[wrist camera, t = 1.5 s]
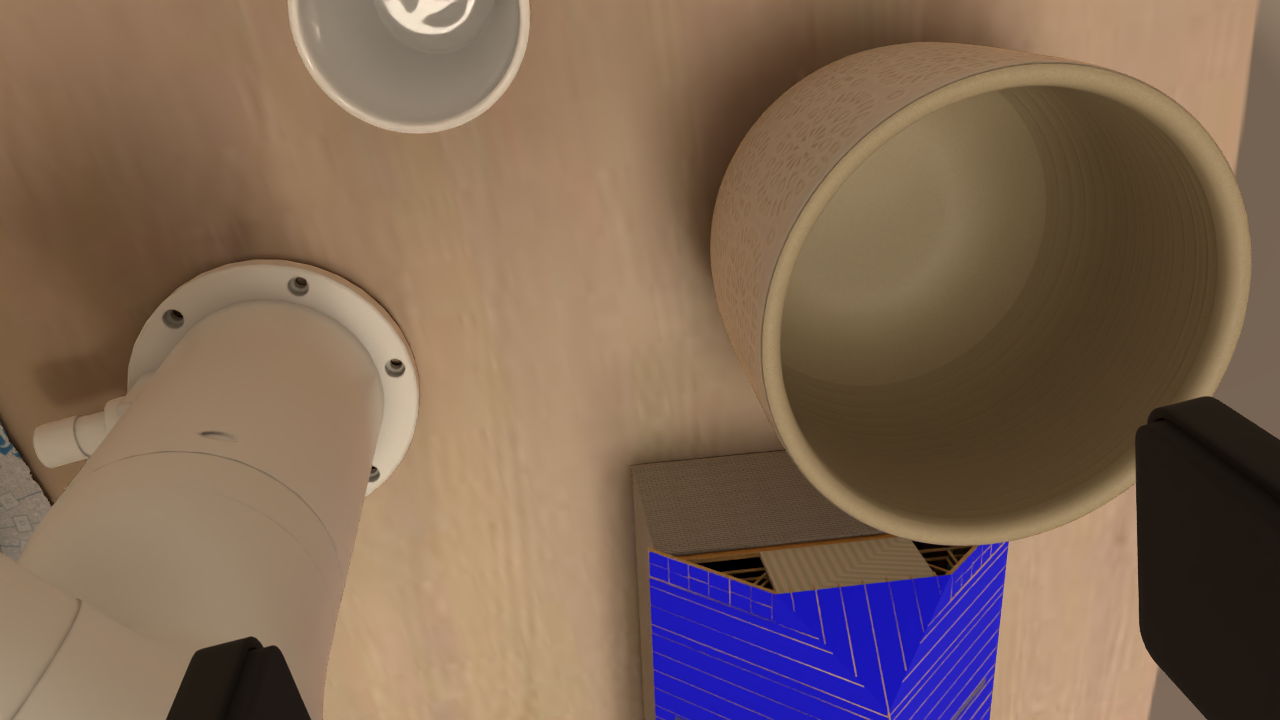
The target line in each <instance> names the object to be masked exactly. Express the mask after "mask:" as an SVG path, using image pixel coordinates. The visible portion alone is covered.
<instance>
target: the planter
mask: <svg viewBox="0 0 1280 720" xmlns="http://www.w3.org/2000/svg"><path fill="white" fill-rule="evenodd" d="M1251 256H1252V254H1251V239H1250V230H1249V224H1248V218H1247V214H1246V209H1245V205H1244V202H1243V198H1242V195H1241V192H1240V189H1239V186H1238V183H1237V181H1236V179H1235V176H1234V174H1233V172H1232V170H1231V168H1230V166H1229V164H1228V162H1227V160H1226V158H1225V156H1224V155H1223V153H1222V151H1221V150H1220V148H1219V147H1218V145H1217V144H1216V142H1215V141H1214V140H1213V138H1212V137H1211V136H1210V134H1209V133H1208V132H1207V131H1206V129H1205V128H1204V127H1203V126H1202V125H1201V124H1200V123H1199V122H1198V121H1197V120H1196V119H1195V118H1194V117H1193V116H1192V115H1191V114H1190V113H1189V112H1188V111H1187V110H1186V109H1185V108H1183V107H1182V106H1181V105H1180V104H1178V103H1177V102H1176V101H1174V100H1173V99H1172V98H1170V97H1169V96H1167V95H1166V94H1164V93H1163V92H1161V91H1160V90H1158V89H1156V88H1154V87H1153V86H1151V85H1149V84H1147V83H1145V82H1143V81H1141V80H1139V79H1136V78H1134V77H1131V76H1129V75H1126V74H1123V73H1120V72H1117V71H1114V70H1111V69H1108V68H1104V67H1100V66H1097V65H1093V64H1088V63H1084V62H1079V61H1075V60H1070V59H1065V58H1059V57H1052V56H1046V55H1039V54H1033V53H1026V52H1019V51H1013V50H1007V49H1001V48H995V47H988V46H980V45H972V44H961V43H947V42H914V43H904V44H897V45H891V46H884V47H878V48H874V49H869V50H866V51H862V52H859V53H855V54H852V55H850V56H847V57H844V58H842V59H839V60H837V61H835V62H833V63H830V64H828V65H826V66H824V67H822V68H820V69H818V70H817V71H815V72H813V73H811V74H810V75H808V76H807V77H805V78H804V79H802V80H801V81H799V82H798V83H796V84H795V85H794V86H792V87H791V88H790V89H788V90H787V91H786V92H785V93H784V94H782V95H781V96H780V97H779V98H778V99H777V100H776V101H775V102H774V103H773V104H772V105H771V106H770V107H769V108H768V109H767V110H766V111H765V112H764V113H763V114H762V115H761V116H760V118H759V119H758V120H757V121H756V122H755V124H754V125H753V126H752V127H751V129H750V130H749V132H748V133H747V134H746V136H745V137H744V139H743V140H742V142H741V144H740V145H739V147H738V148H737V150H736V152H735V154H734V156H733V158H732V160H731V162H730V164H729V166H728V168H727V170H726V173H725V175H724V178H723V180H722V183H721V186H720V189H719V192H718V196H717V200H716V204H715V208H714V213H713V219H712V228H711V240H710V258H711V270H712V277H713V283H714V289H715V295H716V299H717V304H718V308H719V311H720V314H721V317H722V320H723V323H724V326H725V328H726V331H727V333H728V336H729V339H730V341H731V344H732V346H733V348H734V350H735V353H736V355H737V357H738V359H739V361H740V363H741V366H742V368H743V370H744V372H745V374H746V376H747V378H748V379H749V381H750V383H751V385H752V387H753V389H754V391H755V394H756V396H757V398H758V400H759V402H760V404H761V406H762V408H763V410H764V412H765V414H766V416H767V418H768V420H769V422H770V424H771V426H772V428H773V429H774V431H775V433H776V435H777V437H778V438H779V440H780V442H781V444H782V445H783V447H784V448H785V450H786V452H787V453H788V455H789V456H790V458H791V459H792V461H793V462H794V464H795V465H796V466H797V468H798V469H799V470H800V472H801V473H802V474H803V475H804V477H805V478H806V479H807V480H808V481H809V482H810V483H811V485H812V486H813V487H814V488H815V489H816V490H817V491H818V492H819V493H821V494H822V495H823V496H824V497H825V498H826V499H827V500H829V501H830V502H831V503H832V504H834V505H835V506H836V507H838V508H839V509H840V510H842V511H843V512H845V513H846V514H848V515H849V516H851V517H853V518H855V519H856V520H858V521H860V522H862V523H864V524H866V525H868V526H870V527H872V528H875V529H877V530H879V531H882V532H885V533H887V534H890V535H893V536H897V537H900V538H904V539H908V540H912V541H917V542H922V543H929V544H937V545H950V546H974V545H987V544H995V543H1002V542H1008V541H1013V540H1018V539H1022V538H1026V537H1030V536H1033V535H1037V534H1040V533H1043V532H1046V531H1049V530H1052V529H1054V528H1057V527H1060V526H1062V525H1065V524H1067V523H1069V522H1072V521H1074V520H1076V519H1078V518H1080V517H1082V516H1084V515H1086V514H1088V513H1090V512H1092V511H1094V510H1096V509H1097V508H1099V507H1101V506H1103V505H1104V504H1106V503H1107V502H1109V501H1111V500H1112V499H1114V498H1115V497H1117V496H1118V495H1120V494H1121V493H1123V492H1124V491H1126V490H1127V489H1128V488H1130V487H1131V486H1132V485H1134V484H1135V483H1136V462H1135V435H1136V432H1137V429H1138V428H1139V427H1141V426H1143V425H1147V419H1148V417H1149V415H1150V412H1152V411H1153V410H1154V409H1155V408H1159V407H1163V406H1167V405H1171V404H1175V403H1179V402H1183V401H1187V400H1191V399H1194V398H1198V397H1203V396H1210V397H1212V396H1213V394H1214V392H1215V391H1216V389H1217V387H1218V385H1219V383H1220V381H1221V380H1222V377H1223V376H1224V374H1225V371H1226V369H1227V367H1228V365H1229V363H1230V360H1231V358H1232V355H1233V353H1234V350H1235V348H1236V345H1237V342H1238V339H1239V336H1240V333H1241V329H1242V326H1243V322H1244V318H1245V314H1246V309H1247V304H1248V298H1249V291H1250V282H1251V266H1252V265H1251V264H1252V260H1251V259H1252V257H1251Z"/></svg>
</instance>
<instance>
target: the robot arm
mask: <svg viewBox="0 0 1280 720" xmlns="http://www.w3.org/2000/svg"><path fill="white" fill-rule="evenodd" d="M297 277H301V278H303V279H305V280H306V282H307V284H306V285H302V286H301V285H299V284H297V282H296V278H297ZM173 310H176V311H178V312H180V313H181V314H182V315H183V317H177V316H175V315H174V313H173ZM392 359H397V360H400V361H401V362H402V364H400V365H394V364H392V362H391V360H392ZM419 404H420V389H419V376H418V371H417V368H416V364H415V361H414V357H413V354H412V351H411V349H410V347H409V345H408V343H407V341H406V339H405V337H404V335H403V333H402V332H401V330H400V328H399V327H398V325H397V324H396V323H395V322H394V320H393V319H392V318H391V317H390V315H389V314H388V313H387V312H386V310H385V309H384V308H383V307H382V306H381V305H380V304H379V303H377V302H376V301H375V300H374V299H373V298H372V297H370V296H369V295H368V294H367V293H366V292H365V291H364V290H362V289H361V288H359V287H357V286H356V285H354V284H352V283H350V282H349V281H347V280H345V279H344V278H342V277H340V276H339V275H336V274H334V273H331V272H328V271H326V270H323V269H320V268H318V267H315V266H312V265H308V264H303V263H297V262H292V261H287V260H263V259H254V260H248V261H242V262H236V263H230V264H226V265H223V266H220V267H217V268H215V269H212V270H209V271H206V272H204V273H201V274H199V275H198V276H196V277H195V278H193V279H191V280H190V281H188V282H186V283H185V284H183V285H181V286H180V287H178V288H177V289H176V290H175V291H174V292H173V293H172V294H171V295H170V296H169V297H168V298H166V299H165V300H164V301H163V302H162V303H161V304H160V305H159V306H158V308H157V309H156V310H155V311H154V313H153V314H152V315H151V316H150V318H149V319H148V320H147V321H146V323H145V325H144V327H143V328H142V330H141V332H140V334H139V336H138V338H137V340H136V342H135V344H134V347H133V351H132V355H131V358H130V362H129V366H128V383H127V394H126V396H122V397H118V398H115V399H111V400H109V401H107V403H106V405H105V407H104V411H101V412H97V413H93V414H89V415H86V416H84V415H76V416H72V417H68V418H65V419H61V420H57V421H53V422H49V423H46V424H42V425H38V426H37V428H36V429H35V430H34V434H33V445H34V450H35V452H36V455H37V457H38V459H39V460H40V461H41V463H42V464H43V465H44V466H46V467H48V468H55V467H58V466H62V465H66V464H70V463H73V462H77V461H81V460H85V459H88V461H87V462H86V463H85V465H84V466H83V467H82V469H81V470H80V471H79V472H78V474H77V475H76V476H75V478H74V479H73V480H72V482H71V483H70V484H69V485H68V487H67V488H66V489H65V491H64V492H63V493H62V495H61V496H60V497H59V498H58V500H57V501H56V502H55V504H54V505H53V506H52V507H51V508H50V510H49V511H48V512H47V514H46V515H45V516H44V518H43V519H42V520H41V522H40V523H39V524H38V526H37V527H36V529H35V530H34V532H33V533H32V535H31V536H30V538H29V540H28V542H27V544H26V545H25V547H24V549H23V551H22V553H21V555H20V557H19V559H18V562H15V561H14V560H12V559H10V558H9V557H7V556H6V555H4V554H2V553H1V552H0V720H323V697H324V688H325V680H326V672H327V665H328V660H329V655H330V650H331V645H332V640H333V635H334V630H335V626H336V621H337V616H338V612H339V607H340V603H341V600H342V596H343V591H344V587H345V582H346V578H347V574H348V569H349V565H350V560H351V556H352V552H353V547H354V543H355V538H356V534H357V529H358V525H359V521H360V516H361V512H362V507H363V503H364V498H365V497H367V496H368V495H370V494H371V493H372V492H373V491H374V490H376V489H377V488H378V487H379V486H380V485H381V484H383V483H384V482H385V481H386V480H387V479H388V478H389V477H390V475H391V474H392V473H393V472H394V470H395V469H396V468H397V466H398V465H399V464H400V463H401V461H402V460H403V458H404V456H405V454H406V452H407V449H408V447H409V445H410V443H411V441H412V439H413V435H414V431H415V427H416V423H417V419H418V413H419ZM1135 462H1136V505H1137V547H1138V589H1139V625H1140V632H1141V636H1142V639H1143V642H1144V644H1145V647H1146V649H1147V651H1148V652H1149V654H1150V656H1151V657H1152V659H1153V660H1154V661H1155V662H1156V664H1157V665H1158V666H1159V667H1160V668H1161V669H1162V670H1163V671H1164V672H1165V673H1166V675H1167V676H1168V677H1169V678H1170V679H1171V680H1172V681H1173V682H1174V683H1175V684H1176V686H1177V687H1178V688H1179V689H1180V690H1181V691H1182V692H1183V693H1184V694H1185V696H1186V697H1187V698H1188V699H1189V700H1190V701H1191V702H1192V703H1193V704H1194V705H1195V707H1196V708H1197V709H1198V710H1199V711H1200V712H1201V713H1202V714H1203V715H1204V717H1205V718H1206V719H1207V720H1280V440H1279V439H1277V438H1276V437H1274V436H1273V435H1271V434H1270V433H1268V432H1267V431H1265V430H1264V429H1262V428H1260V427H1259V426H1257V425H1256V424H1254V423H1253V422H1251V421H1250V420H1248V419H1247V418H1245V417H1243V416H1242V415H1240V414H1239V413H1237V412H1236V411H1234V410H1233V409H1231V408H1230V407H1228V406H1227V405H1225V404H1223V403H1222V402H1220V401H1219V400H1217V399H1215V398H1213V397H1210V396H1203V397H1198V398H1194V399H1191V400H1187V401H1183V402H1179V403H1175V404H1171V405H1167V406H1163V407H1159V408H1155V409H1154V410H1153V411H1152V412H1150V415H1149V417H1148V419H1147V425H1143V426H1141V427H1139V428H1138V429H1137V432H1136V435H1135ZM372 466H374V467H376V468H375V469H371V468H372Z"/></svg>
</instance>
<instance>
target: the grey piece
mask: <svg viewBox="0 0 1280 720" xmlns="http://www.w3.org/2000/svg"><path fill="white" fill-rule="evenodd" d="M19 455H20V454H19V452H18V451H16V449H15V448H14V446H13V444H12V443H9V442H8V438H7V433H6V432H5V429H4V428H3V426H1V422H0V552H1V553H2V554H4V555H6V556H7V557H9V558H10V559H12V560H14V561H15V562H18V559H19V557H20V555H21V553H22V551H23V549H24V547H25V545H26V544H27V542H28V540H29V538H30V536H31V535H32V533H33V532H34V530H35V529H36V527H37V526H38V524H39V523H40V522H41V520H42V519H43V518H44V516H45V515H46V514H47V512H48V511H49V510H50V508H51V507H52V506H50V502H48V499H47V498H46V497H45V496H44V494H43V492H44V491H42V489H41V487H39V485H38V484H37V483H36V482H35V481H33V480H32V479H33V478H31V477H32V475H30V474H29V472H30V469H29V468H28V466H27V465H26V464H25V462H23V461H22V460H23V459H22V458H21V457H19Z"/></svg>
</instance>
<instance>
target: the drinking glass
mask: <svg viewBox="0 0 1280 720" xmlns="http://www.w3.org/2000/svg"><path fill="white" fill-rule="evenodd" d="M287 5H288V17H289V23H290V28H291V32H292V36H293V39H294V43H295V45H296V48H297V50H298V53H299V55H300V57H301V59H302V61H303V63H304V65H305V67H306V68H307V70H308V72H309V73H310V75H311V76H312V78H313V79H314V80H315V82H316V83H317V84H318V86H319V87H320V88H321V89H322V90H323V91H324V92H325V93H326V95H328V96H329V97H330V98H331V99H332V100H333V101H334V102H335V103H336V104H338V105H339V106H340V107H341V108H343V109H344V110H345V111H347V112H348V113H350V114H352V115H353V116H355V117H356V118H358V119H360V120H362V121H364V122H366V123H369V124H371V125H373V126H376V127H379V128H382V129H386V130H389V131H394V132H399V133H408V134H426V133H435V132H441V131H445V130H449V129H452V128H455V127H458V126H460V125H463V124H465V123H467V122H469V121H471V120H473V119H475V118H476V117H478V116H479V115H481V114H482V113H484V112H485V111H486V110H488V109H489V108H490V107H491V106H492V105H494V104H495V103H496V102H497V100H498V99H499V98H500V97H501V96H502V95H503V94H504V93H505V91H506V90H507V89H508V88H509V86H510V84H511V83H512V81H513V80H514V78H515V76H516V74H517V72H518V70H519V69H520V66H521V64H522V61H523V59H524V55H525V52H526V48H527V44H528V39H529V33H530V22H531V5H530V0H288V1H287Z"/></svg>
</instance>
